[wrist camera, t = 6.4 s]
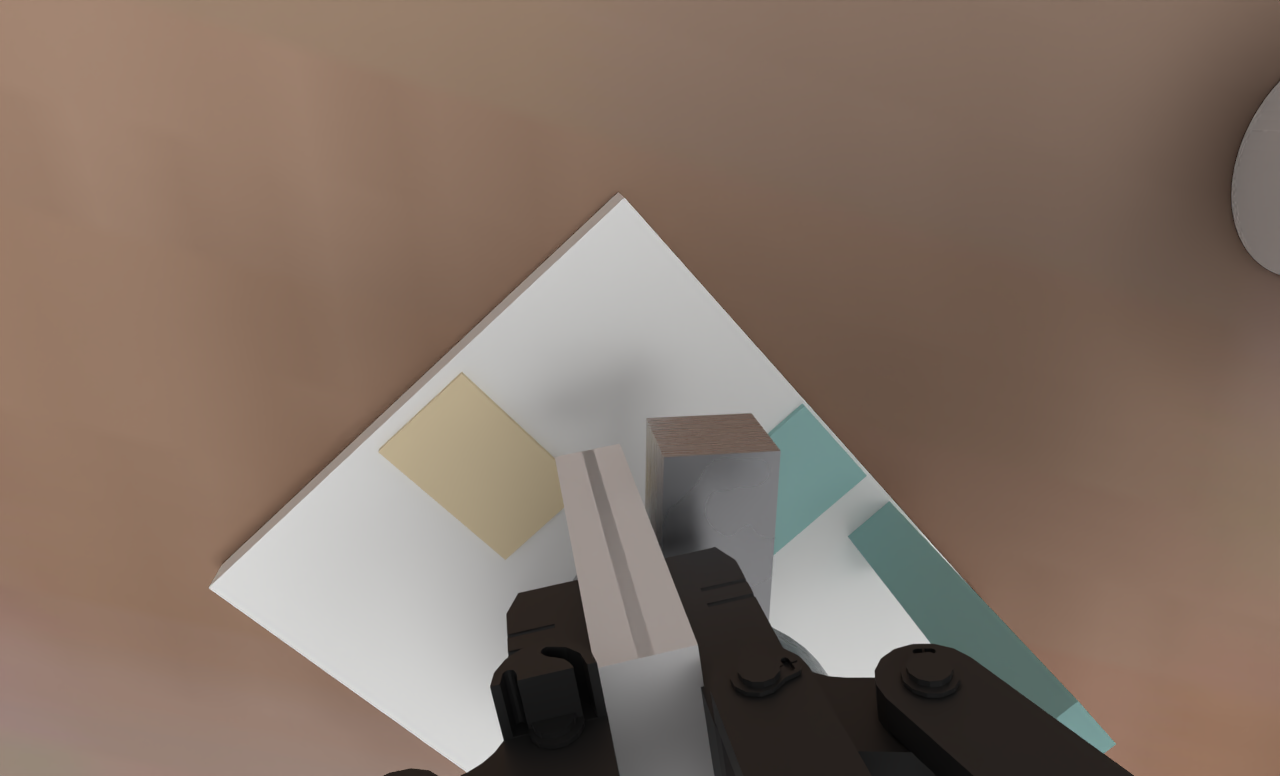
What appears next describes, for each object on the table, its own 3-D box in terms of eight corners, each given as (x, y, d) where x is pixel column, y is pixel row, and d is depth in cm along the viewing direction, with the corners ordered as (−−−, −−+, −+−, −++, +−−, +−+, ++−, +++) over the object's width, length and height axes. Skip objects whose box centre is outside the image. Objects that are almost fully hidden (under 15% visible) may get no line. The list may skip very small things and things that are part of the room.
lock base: (981, 600, 28) (1216, 850, 19) (645, 873, 30) (711, 1227, 21) (618, 192, 22) (703, 267, 13) (221, 564, 24) (44, 868, 15)
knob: (821, 938, 22) (867, 1062, 19) (521, 980, 21) (524, 1119, 18) (879, 396, 17) (953, 456, 14) (492, 413, 16) (490, 482, 13)
